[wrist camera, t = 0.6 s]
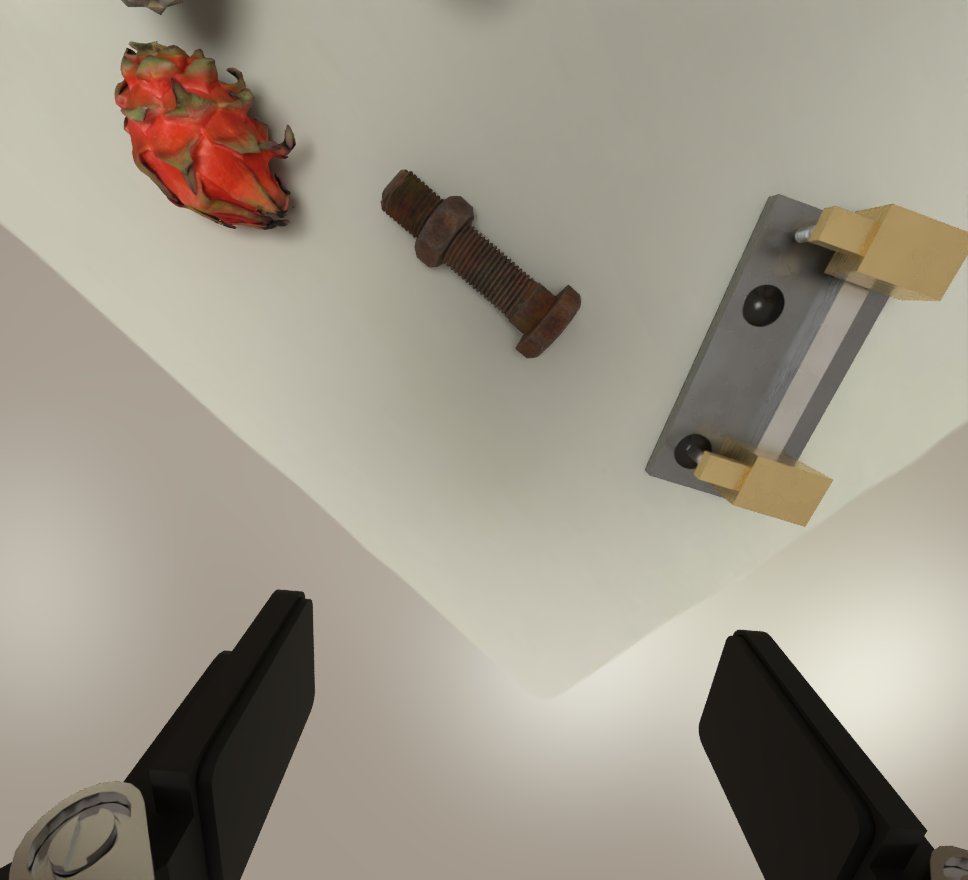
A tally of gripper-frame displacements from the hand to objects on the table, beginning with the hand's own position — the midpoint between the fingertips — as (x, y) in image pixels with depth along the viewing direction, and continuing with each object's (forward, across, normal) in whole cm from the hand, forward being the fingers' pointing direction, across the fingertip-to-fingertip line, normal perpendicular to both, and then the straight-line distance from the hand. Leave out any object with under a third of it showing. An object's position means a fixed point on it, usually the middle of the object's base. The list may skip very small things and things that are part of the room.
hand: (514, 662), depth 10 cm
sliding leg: (+27, -23, -13) cm, 38 cm away
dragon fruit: (+29, +20, -15) cm, 38 cm away
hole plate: (+29, -21, -4) cm, 36 cm away
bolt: (+29, +2, -10) cm, 31 cm away
